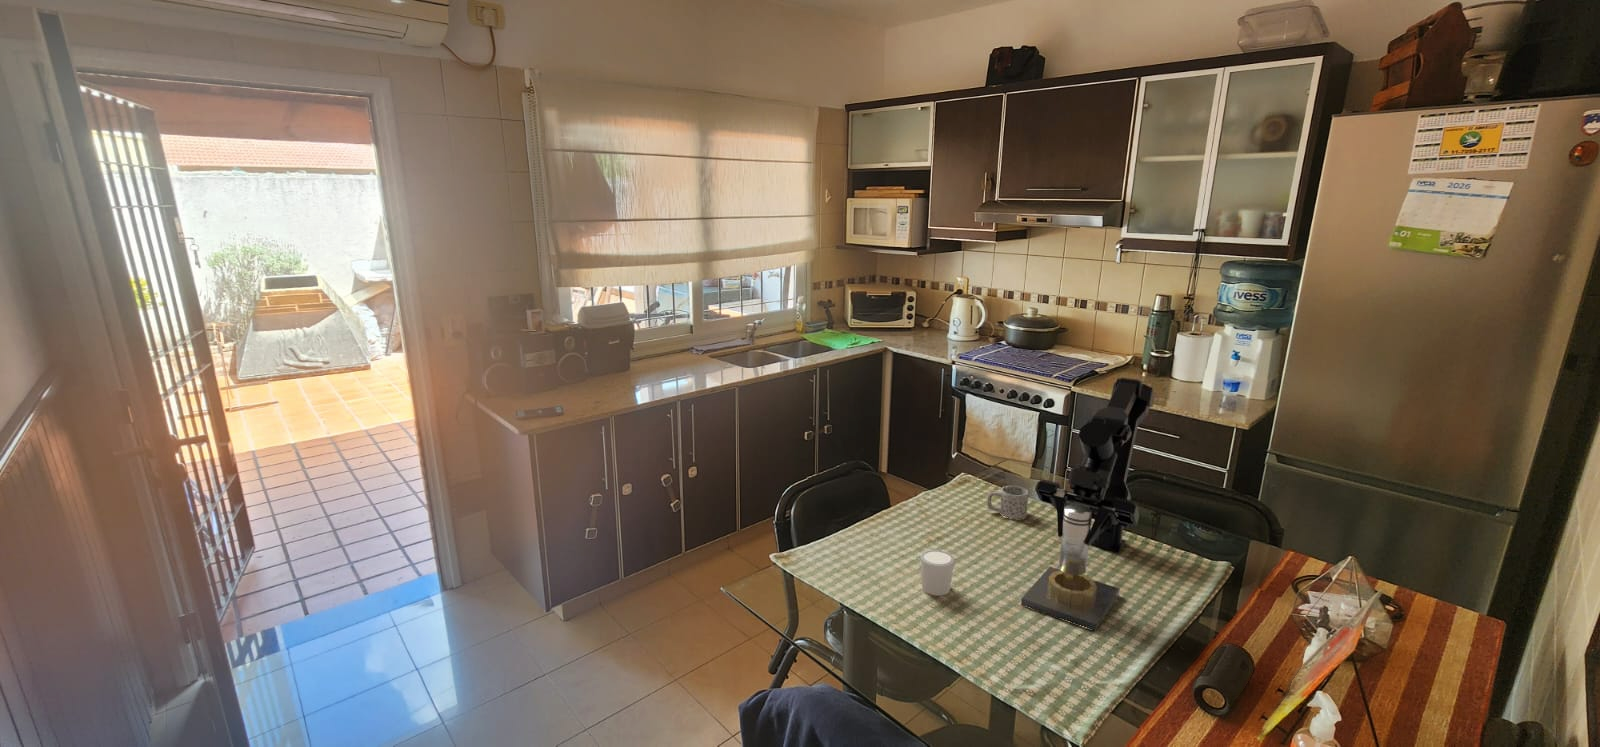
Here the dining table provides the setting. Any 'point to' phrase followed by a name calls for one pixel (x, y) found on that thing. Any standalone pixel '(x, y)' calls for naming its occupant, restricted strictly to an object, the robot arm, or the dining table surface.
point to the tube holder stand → (1071, 597)
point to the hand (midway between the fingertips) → (1073, 540)
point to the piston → (1075, 539)
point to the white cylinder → (936, 571)
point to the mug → (1011, 502)
